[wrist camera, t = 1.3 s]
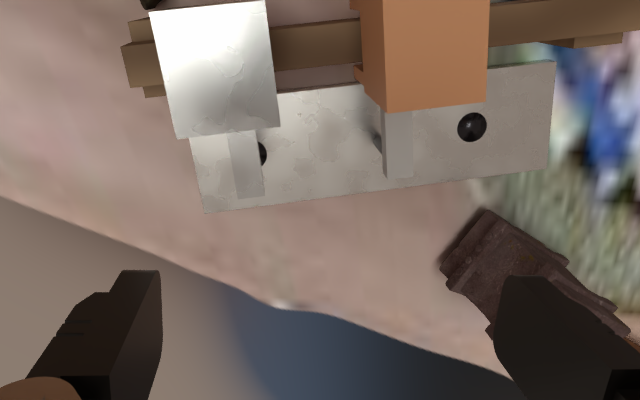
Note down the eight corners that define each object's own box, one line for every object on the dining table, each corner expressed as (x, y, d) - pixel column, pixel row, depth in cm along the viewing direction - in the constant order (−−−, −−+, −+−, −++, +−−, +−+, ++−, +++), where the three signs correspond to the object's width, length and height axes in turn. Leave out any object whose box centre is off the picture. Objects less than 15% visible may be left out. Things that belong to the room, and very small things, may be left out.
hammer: (485, 203, 38) (577, 284, 29) (672, 321, 54) (767, 395, 45) (430, 269, 40) (503, 362, 31) (627, 364, 55) (710, 443, 47)
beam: (150, 16, 31) (114, 25, 24) (570, -28, 33) (665, -33, 26) (164, 80, 33) (135, 107, 25) (564, 34, 35) (652, 47, 27)
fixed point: (190, 4, 30) (148, 12, 19) (262, -4, 30) (264, 0, 19) (221, 169, 34) (202, 258, 23) (283, 161, 35) (296, 245, 23)
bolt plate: (184, 102, 34) (182, 105, 33) (548, 59, 35) (557, 61, 34) (206, 208, 37) (204, 214, 36) (539, 164, 39) (546, 168, 38)
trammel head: (336, -11, 31) (382, -13, 19) (405, -19, 31) (490, -24, 20) (348, 153, 35) (391, 232, 24) (409, 146, 35) (480, 219, 24)
